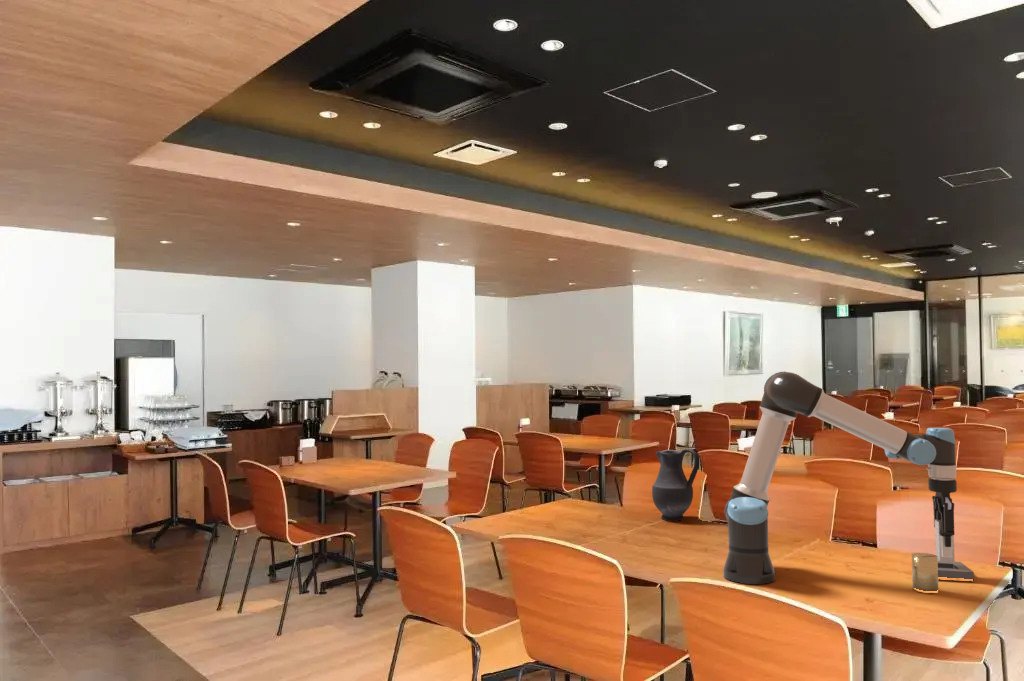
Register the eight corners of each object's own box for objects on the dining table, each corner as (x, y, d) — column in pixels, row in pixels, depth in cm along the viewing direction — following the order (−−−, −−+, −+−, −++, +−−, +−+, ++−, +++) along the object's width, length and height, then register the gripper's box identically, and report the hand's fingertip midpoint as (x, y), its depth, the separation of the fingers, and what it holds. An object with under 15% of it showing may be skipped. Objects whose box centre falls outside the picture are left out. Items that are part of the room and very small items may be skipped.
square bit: (954, 562, 227) (953, 522, 227) (940, 561, 228) (938, 522, 228) (950, 559, 231) (949, 519, 231) (936, 558, 232) (934, 519, 232)
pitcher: (664, 513, 331) (663, 445, 332) (708, 519, 318) (707, 447, 319) (645, 519, 318) (643, 448, 319) (690, 525, 305) (688, 451, 306)
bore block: (974, 582, 222) (973, 572, 222) (929, 579, 225) (928, 569, 225) (960, 571, 234) (960, 561, 234) (918, 569, 237) (918, 559, 237)
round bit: (941, 594, 210) (940, 558, 211) (916, 593, 212) (914, 557, 213) (934, 588, 217) (933, 553, 217) (910, 586, 218) (909, 552, 219)
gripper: (921, 474, 240) (923, 548, 239) (936, 482, 223) (939, 561, 222) (947, 474, 238) (950, 549, 237) (965, 482, 221) (968, 563, 220)
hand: (945, 555), depth 230 cm, fingers closed on square bit, 4 cm apart
